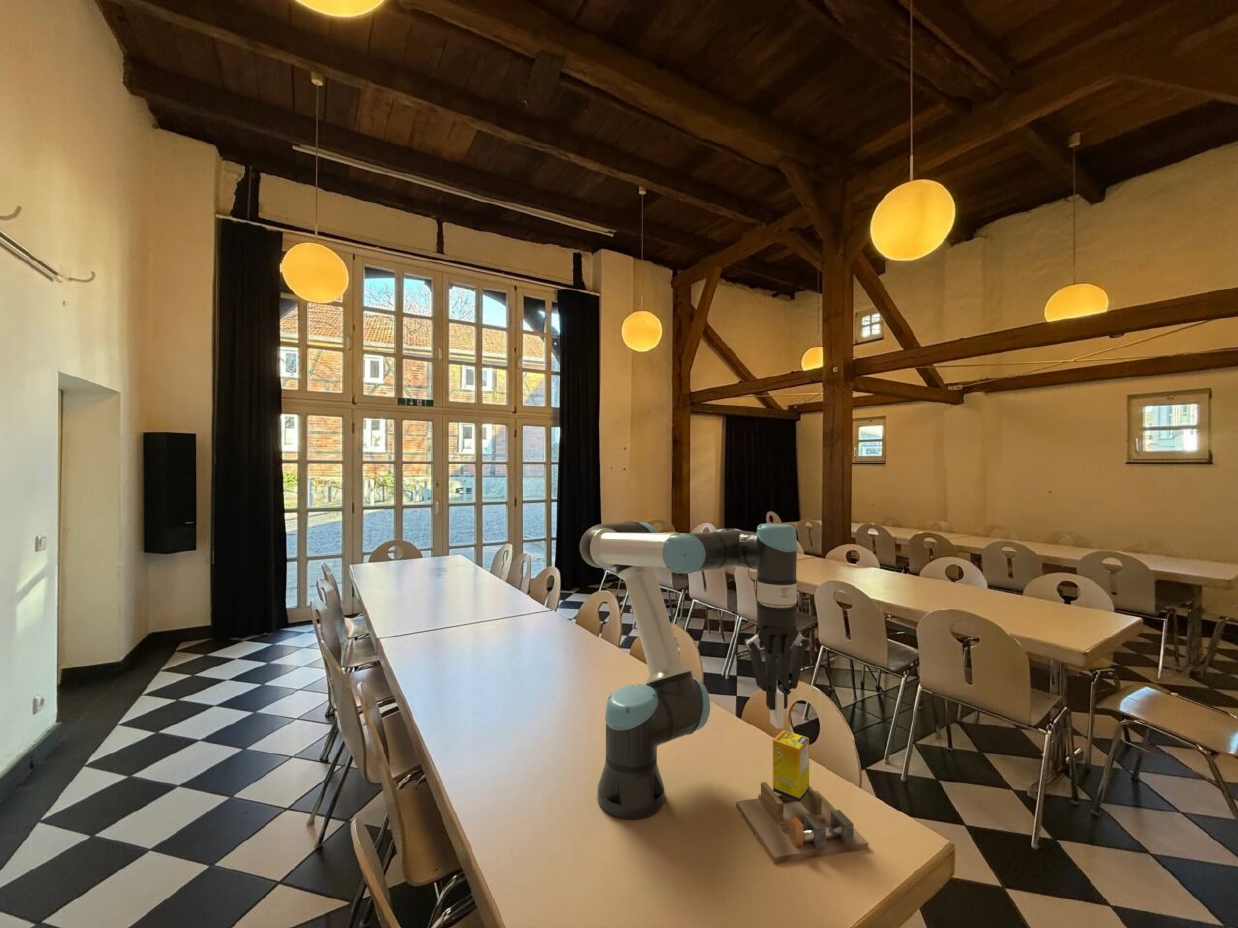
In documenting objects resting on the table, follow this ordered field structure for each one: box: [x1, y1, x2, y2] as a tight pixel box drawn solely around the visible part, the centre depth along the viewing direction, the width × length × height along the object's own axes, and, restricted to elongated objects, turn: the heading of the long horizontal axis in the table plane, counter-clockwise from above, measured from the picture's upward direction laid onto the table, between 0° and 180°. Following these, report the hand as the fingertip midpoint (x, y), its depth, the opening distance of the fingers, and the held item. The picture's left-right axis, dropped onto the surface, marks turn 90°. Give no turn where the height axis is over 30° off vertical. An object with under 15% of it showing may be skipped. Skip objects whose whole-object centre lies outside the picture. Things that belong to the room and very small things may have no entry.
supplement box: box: [772, 729, 810, 802], centre depth 110 cm, size 6×6×11 cm
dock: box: [735, 781, 869, 865], centre depth 107 cm, size 20×17×6 cm
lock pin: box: [789, 817, 841, 847], centre depth 101 cm, size 12×2×4 cm, turn 102°
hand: (776, 724), depth 100 cm, fingers closed
